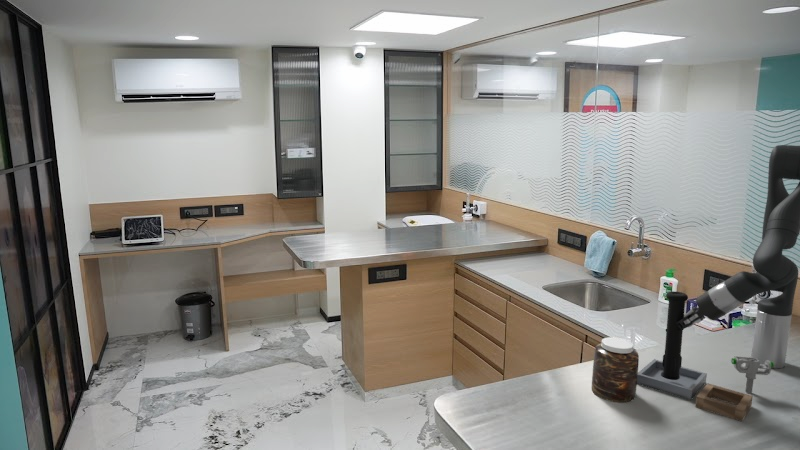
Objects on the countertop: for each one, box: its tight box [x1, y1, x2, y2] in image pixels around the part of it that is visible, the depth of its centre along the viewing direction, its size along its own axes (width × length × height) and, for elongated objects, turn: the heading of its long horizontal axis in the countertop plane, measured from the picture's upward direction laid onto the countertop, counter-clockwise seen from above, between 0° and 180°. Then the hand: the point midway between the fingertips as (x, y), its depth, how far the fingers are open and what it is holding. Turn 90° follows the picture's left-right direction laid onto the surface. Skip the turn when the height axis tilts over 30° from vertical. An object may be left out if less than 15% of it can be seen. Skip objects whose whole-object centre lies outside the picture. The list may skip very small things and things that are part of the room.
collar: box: [695, 383, 753, 422], centre depth 151 cm, size 11×11×3 cm
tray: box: [637, 358, 708, 401], centre depth 165 cm, size 15×15×3 cm
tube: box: [661, 291, 689, 380], centre depth 161 cm, size 25×6×6 cm
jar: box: [591, 336, 640, 403], centre depth 157 cm, size 12×12×15 cm
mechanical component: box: [730, 356, 774, 395], centre depth 159 cm, size 3×10×10 cm, turn 78°
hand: (668, 332), depth 164 cm, fingers closed on tube, 1 cm apart
